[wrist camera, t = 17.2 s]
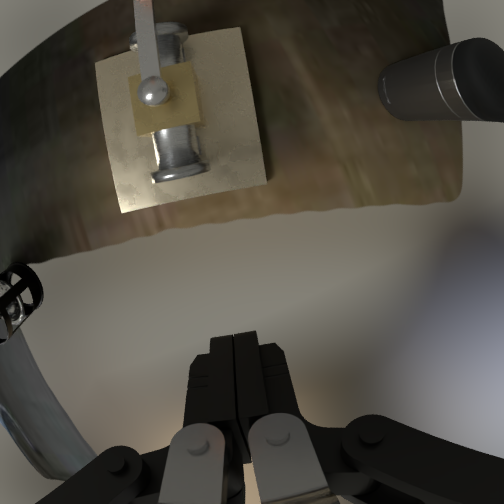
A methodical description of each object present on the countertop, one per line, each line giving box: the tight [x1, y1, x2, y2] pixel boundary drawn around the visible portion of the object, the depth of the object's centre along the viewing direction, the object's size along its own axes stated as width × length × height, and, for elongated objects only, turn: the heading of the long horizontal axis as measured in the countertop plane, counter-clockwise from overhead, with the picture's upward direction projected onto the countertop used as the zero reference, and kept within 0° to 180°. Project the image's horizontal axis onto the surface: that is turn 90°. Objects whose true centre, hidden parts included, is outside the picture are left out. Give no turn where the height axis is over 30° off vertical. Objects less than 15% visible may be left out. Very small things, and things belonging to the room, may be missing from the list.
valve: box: [95, 22, 267, 213], centre depth 31 cm, size 20×22×12 cm
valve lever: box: [134, 0, 170, 107], centre depth 18 cm, size 17×3×9 cm, turn 9°
